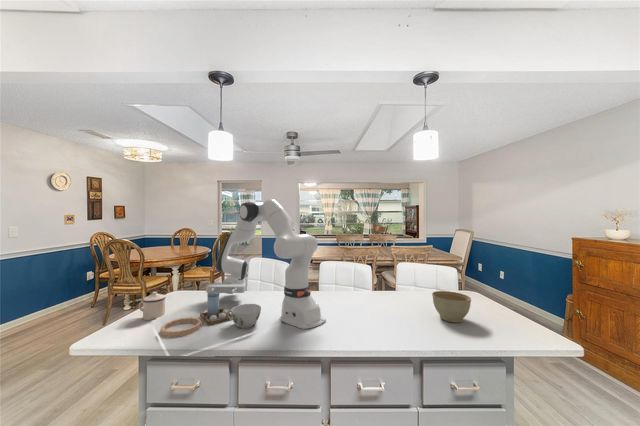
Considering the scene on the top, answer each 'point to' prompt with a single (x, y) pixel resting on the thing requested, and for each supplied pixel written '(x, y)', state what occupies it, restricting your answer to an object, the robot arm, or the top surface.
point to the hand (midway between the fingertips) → (221, 292)
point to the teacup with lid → (153, 306)
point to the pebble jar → (213, 304)
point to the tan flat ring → (180, 332)
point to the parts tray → (204, 317)
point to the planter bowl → (451, 305)
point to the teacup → (245, 315)
